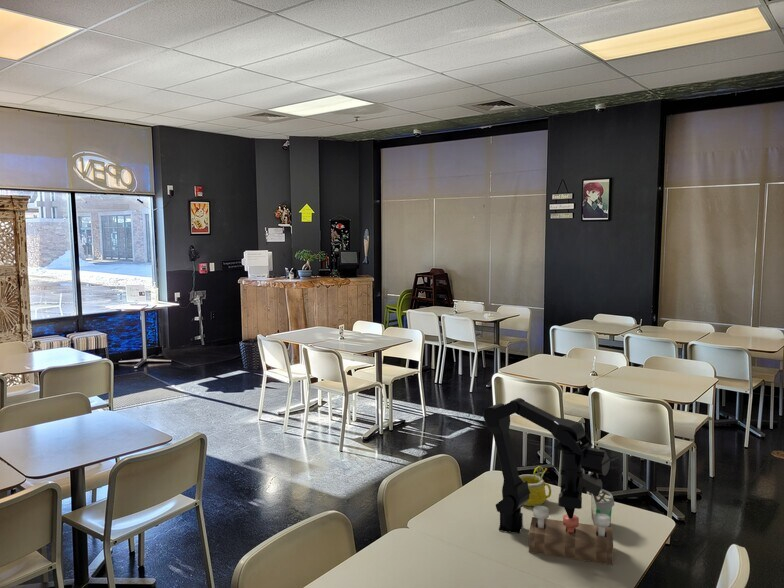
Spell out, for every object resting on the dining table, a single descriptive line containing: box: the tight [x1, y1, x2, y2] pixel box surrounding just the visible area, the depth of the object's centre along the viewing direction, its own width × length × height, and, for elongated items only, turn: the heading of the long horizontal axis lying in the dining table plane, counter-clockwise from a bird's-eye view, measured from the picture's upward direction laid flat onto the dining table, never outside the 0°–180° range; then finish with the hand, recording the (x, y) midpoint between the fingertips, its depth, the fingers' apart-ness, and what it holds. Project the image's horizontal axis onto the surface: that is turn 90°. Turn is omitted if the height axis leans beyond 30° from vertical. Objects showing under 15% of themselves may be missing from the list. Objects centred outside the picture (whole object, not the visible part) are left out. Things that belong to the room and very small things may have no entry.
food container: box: [590, 488, 615, 527], centre depth 185 cm, size 12×6×10 cm, turn 168°
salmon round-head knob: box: [562, 513, 580, 533], centre depth 171 cm, size 4×4×8 cm
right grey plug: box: [594, 513, 611, 537], centre depth 168 cm, size 4×4×8 cm
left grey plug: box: [532, 505, 550, 529], centre depth 174 cm, size 4×4×8 cm
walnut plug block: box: [528, 516, 614, 566], centre depth 171 cm, size 23×10×6 cm, turn 71°
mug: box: [519, 465, 552, 507], centre depth 203 cm, size 13×11×12 cm
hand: (570, 517), depth 171 cm, fingers closed, pressing on salmon round-head knob
